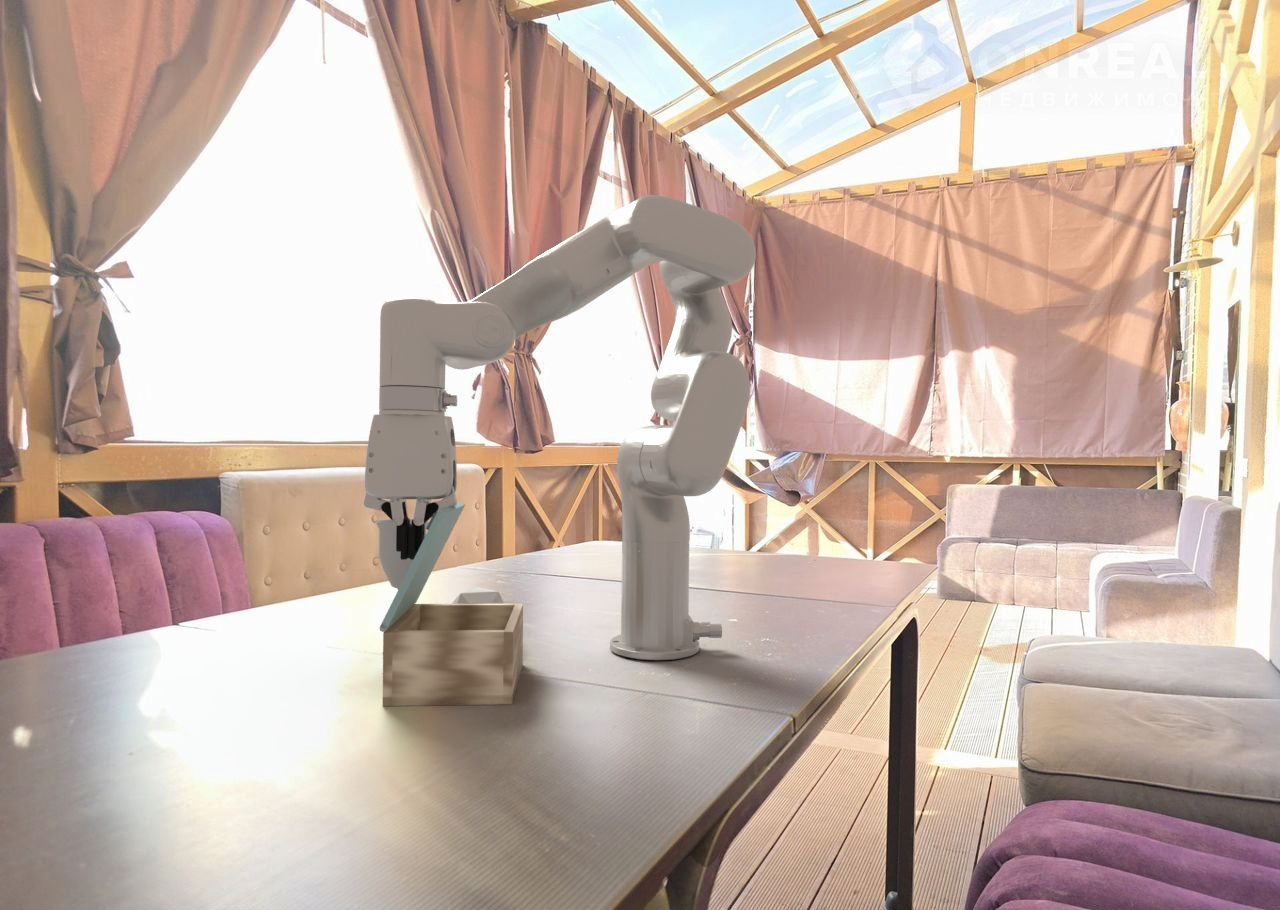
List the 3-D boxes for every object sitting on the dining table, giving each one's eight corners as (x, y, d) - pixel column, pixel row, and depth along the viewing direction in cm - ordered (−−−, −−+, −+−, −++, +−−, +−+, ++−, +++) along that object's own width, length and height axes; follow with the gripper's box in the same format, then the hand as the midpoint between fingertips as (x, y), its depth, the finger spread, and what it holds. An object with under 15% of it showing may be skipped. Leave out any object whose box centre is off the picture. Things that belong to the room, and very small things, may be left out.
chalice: (436, 646, 112) (437, 519, 111) (418, 659, 105) (419, 524, 105) (386, 644, 112) (387, 518, 112) (365, 657, 106) (366, 523, 105)
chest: (522, 664, 103) (523, 603, 103) (512, 704, 87) (512, 631, 87) (413, 665, 102) (413, 603, 102) (382, 706, 86) (383, 632, 86)
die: (522, 651, 112) (517, 588, 118) (490, 632, 105) (486, 566, 111) (470, 669, 114) (467, 605, 120) (435, 651, 107) (433, 584, 112)
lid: (465, 504, 102) (454, 498, 102) (444, 514, 86) (431, 508, 86) (415, 604, 102) (404, 598, 102) (384, 633, 86) (371, 626, 86)
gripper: (480, 407, 98) (477, 554, 98) (357, 404, 97) (355, 553, 97) (471, 403, 90) (469, 563, 91) (338, 400, 89) (336, 562, 90)
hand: (410, 557), depth 94 cm, fingers closed
